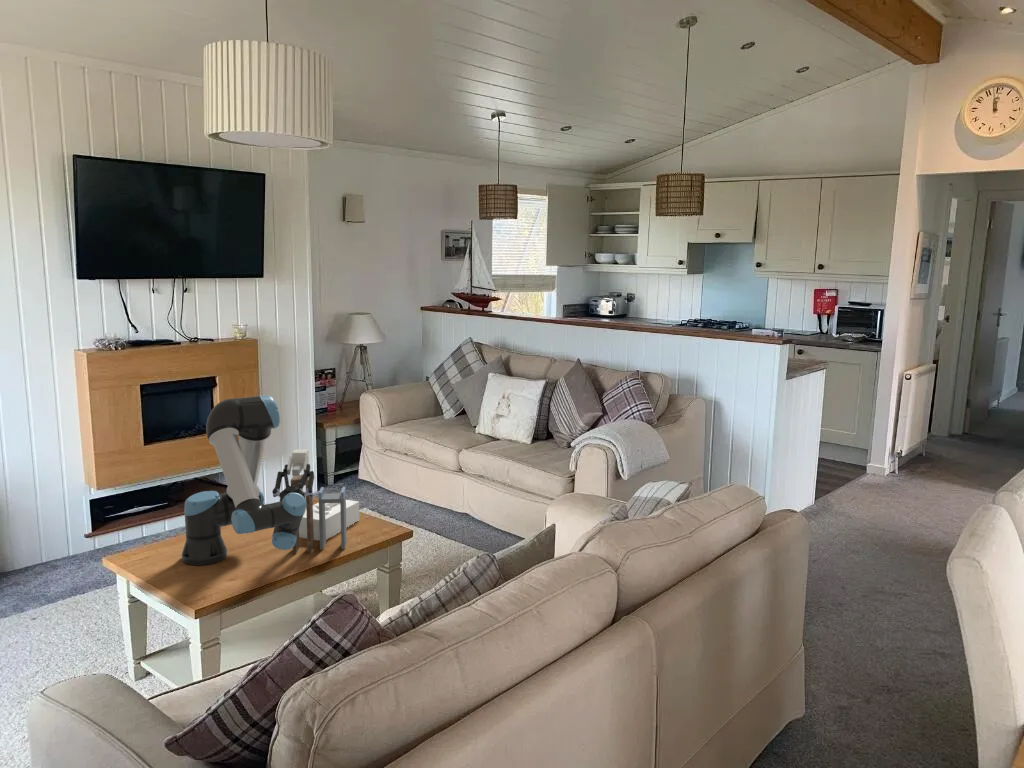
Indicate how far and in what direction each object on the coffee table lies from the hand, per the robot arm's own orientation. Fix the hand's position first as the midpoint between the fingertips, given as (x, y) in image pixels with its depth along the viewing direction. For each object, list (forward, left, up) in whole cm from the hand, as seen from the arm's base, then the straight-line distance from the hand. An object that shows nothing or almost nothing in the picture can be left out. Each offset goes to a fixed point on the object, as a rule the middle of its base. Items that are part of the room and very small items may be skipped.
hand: (299, 459), depth 276 cm
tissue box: (+5, +27, -36) cm, 45 cm away
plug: (0, -1, -4) cm, 4 cm away
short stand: (+11, +7, -36) cm, 38 cm away
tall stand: (0, +4, -36) cm, 36 cm away
